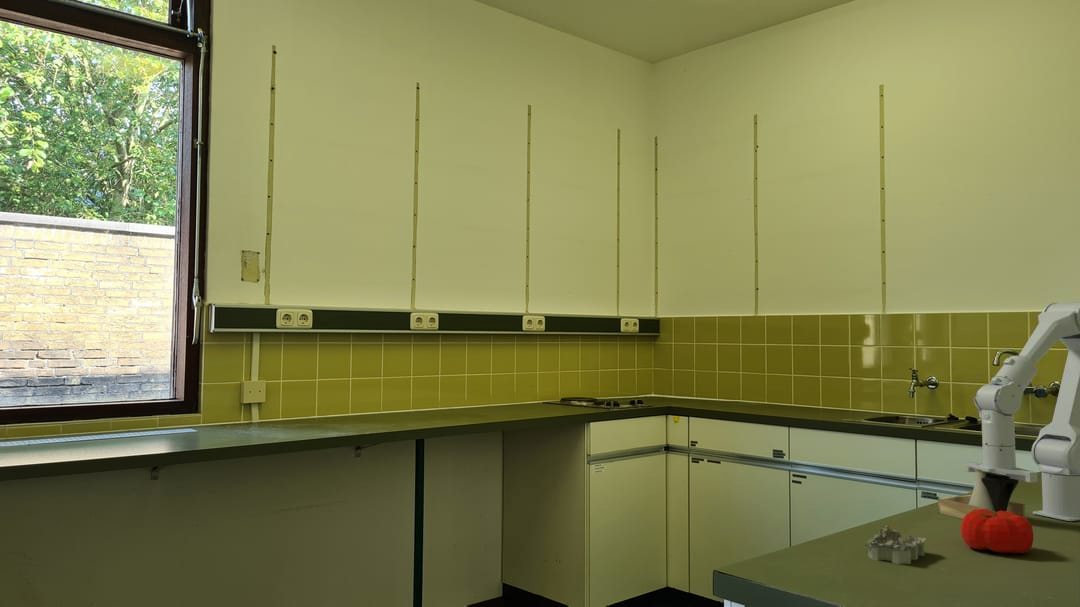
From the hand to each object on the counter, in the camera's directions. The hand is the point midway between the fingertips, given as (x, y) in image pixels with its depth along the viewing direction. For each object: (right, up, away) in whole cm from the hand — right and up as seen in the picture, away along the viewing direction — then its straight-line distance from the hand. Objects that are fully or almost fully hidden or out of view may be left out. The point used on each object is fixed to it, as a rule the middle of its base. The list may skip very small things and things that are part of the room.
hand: (1000, 513), depth 160 cm
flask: (-1, -2, +3) cm, 4 cm away
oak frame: (-2, -2, +4) cm, 5 cm away
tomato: (-14, -1, -22) cm, 26 cm away
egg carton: (-32, -1, -26) cm, 41 cm away
